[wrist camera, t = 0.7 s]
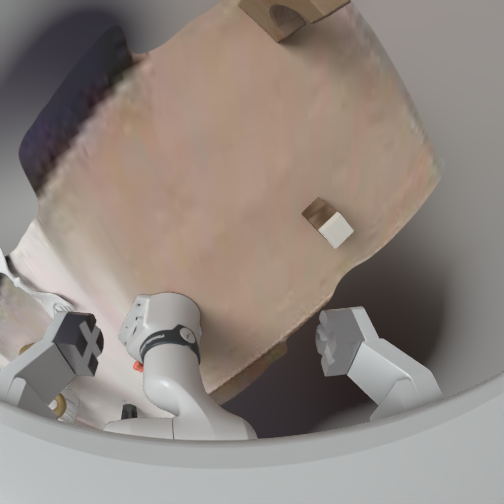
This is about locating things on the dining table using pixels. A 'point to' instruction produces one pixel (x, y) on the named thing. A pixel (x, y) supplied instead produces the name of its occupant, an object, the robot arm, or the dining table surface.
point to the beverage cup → (129, 412)
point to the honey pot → (68, 406)
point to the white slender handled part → (48, 300)
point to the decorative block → (288, 14)
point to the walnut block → (328, 222)
